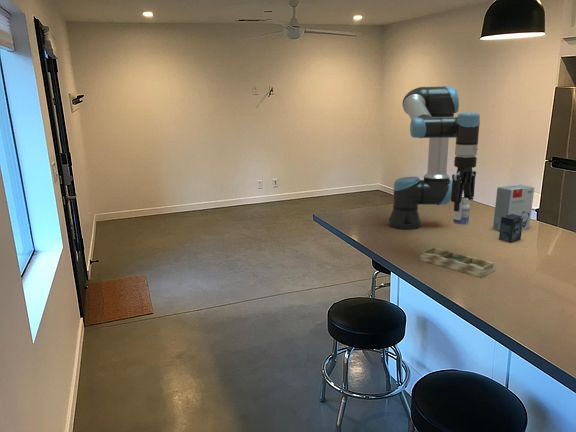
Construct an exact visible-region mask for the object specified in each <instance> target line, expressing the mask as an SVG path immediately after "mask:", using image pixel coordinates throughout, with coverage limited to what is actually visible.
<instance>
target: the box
mask: <svg viewBox="0 0 576 432" xmlns="http://www.w3.org/2000/svg"><path fill="white" fill-rule="evenodd" d="M522 224H523V216H519V215H515V214H510V215H506V216H502V217H501V225H500V231H499V236H498V240H500V241H502V242H507V243H513V242H516V241H520V240H521V239H522V232H523V230H522Z"/></svg>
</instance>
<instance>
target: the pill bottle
mask: <svg viewBox="0 0 576 432" xmlns="http://www.w3.org/2000/svg"><path fill="white" fill-rule="evenodd" d="M468 202H469V199H468V198H464V197H462V199H461V203H462V212H461V220H456V219H453V218H452V222H453V224H454V225H456V226H467V225H469V220H470V209H471V204H470V205H469V204H468Z"/></svg>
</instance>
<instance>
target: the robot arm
mask: <svg viewBox="0 0 576 432" xmlns="http://www.w3.org/2000/svg"><path fill="white" fill-rule="evenodd" d="M459 107H460V100H459V93H458V91H457V89H456V87H454V86H418V87H415V88H414V89H412V90H410V91H408V93H406V94H405V96H404V97H403V100H402V108H403V111H404V112H405V114H406V115H408V116H409V118H410V125H409V132H410V133H409V134H410V136H411V137H412V138H415V139H417V138H418V139H428V138H429V139H428V156H427V157H428V158H427V173H425V174H424V175H423V179H420V177H419V176H404V177H400V178H397V179H396V180H395V181H394V183H393V189H392V190H393V200H392V201H393V202H392V211H391V213H390V216H389V219H388V226H389V227H391V228H394V229H399V230H415V229H419V228H421V224H422V221H421V218H420V214H419V211H418V210H419V205H421V206H422V205H427V206H428V205H429V206H430V205H433V206H435V205H436V206H440V205H441V206H443V205H448V203H450V201H451V202H452V203H453V216H452V220H453V219H456V220H461V212H462V203H461V199H462V198H468V199H469V202H468V204H469V205H470V206H471V201H473V200H474V197H475V187H476V185H475V184H476V175H477V171H475V170H473V168H476V167H477V161H478V159H477V157H476V156H477V155H478V150H479V147H478V145H479V134H480V133H479V132H480V126H481V125H480V124H481V120H480V118H481V117H480V113H478V112H459ZM458 112H459V113H458ZM457 113H458V114H457ZM455 114H457V116H455V117H454V115H455ZM450 138H451V139H453V138H455V146H454V147H455V149H454V155H455V156H454V161H453V162H454V164H453V167H455V168H457V170H456V174H452V176H449V174H448V171H447V170H448V155H449V139H450ZM450 177H451V179H450Z"/></svg>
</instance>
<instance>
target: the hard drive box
mask: <svg viewBox="0 0 576 432" xmlns="http://www.w3.org/2000/svg"><path fill="white" fill-rule="evenodd" d="M534 194H535V187H534V186H529V185H524V184H515V185H506V186H498V187H497V188H496V196H495V207H494V214H493V222H492V223H493V224H492V229H493V230H497V231H499V232H500V225H501V217H502V216H506V215H510V214H515V215H519V216H523V224H522V231H524V230H530V223H531V218H532V217H531V216H532V210H533V209H532V208H533V203H534V201H533V200H534Z"/></svg>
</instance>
